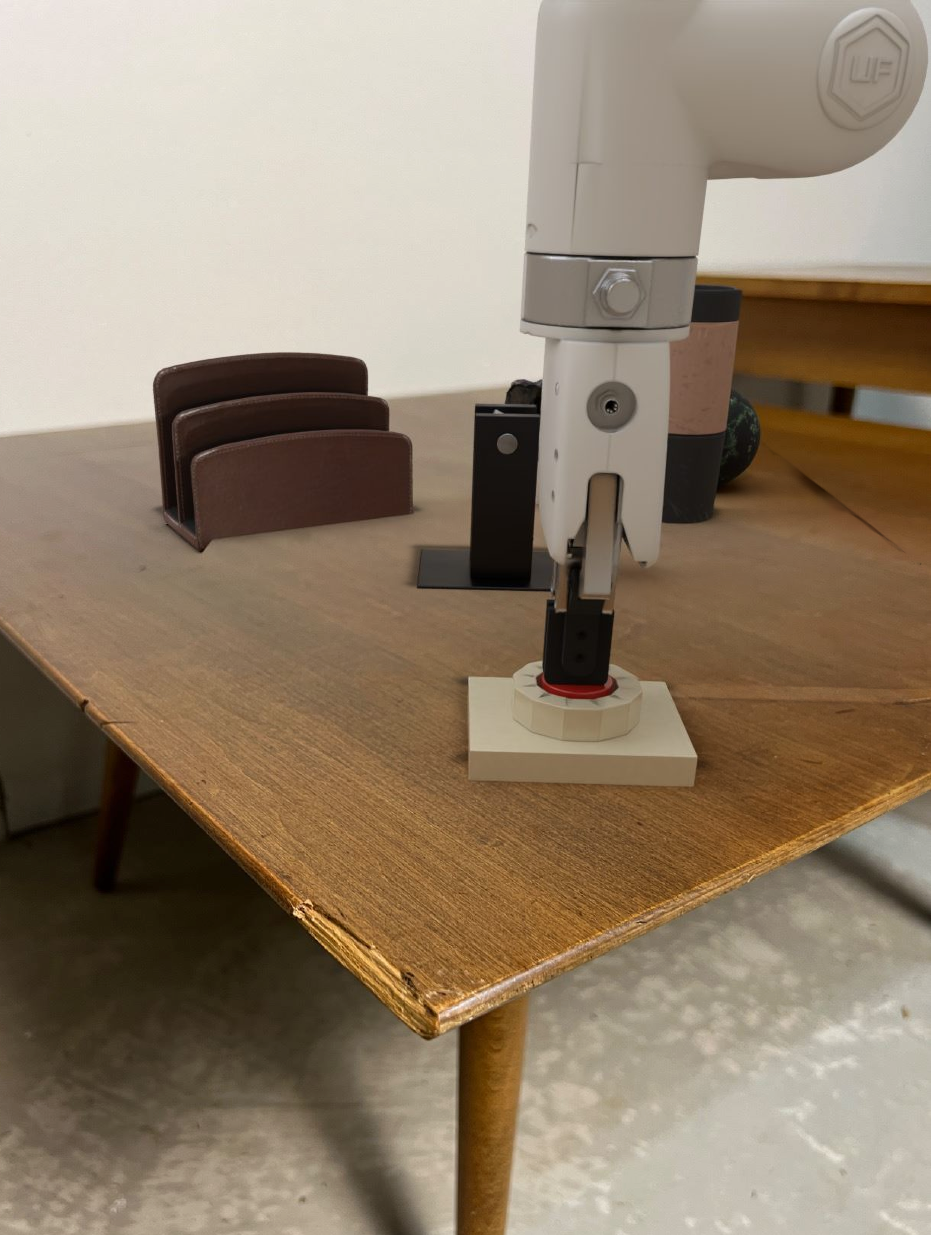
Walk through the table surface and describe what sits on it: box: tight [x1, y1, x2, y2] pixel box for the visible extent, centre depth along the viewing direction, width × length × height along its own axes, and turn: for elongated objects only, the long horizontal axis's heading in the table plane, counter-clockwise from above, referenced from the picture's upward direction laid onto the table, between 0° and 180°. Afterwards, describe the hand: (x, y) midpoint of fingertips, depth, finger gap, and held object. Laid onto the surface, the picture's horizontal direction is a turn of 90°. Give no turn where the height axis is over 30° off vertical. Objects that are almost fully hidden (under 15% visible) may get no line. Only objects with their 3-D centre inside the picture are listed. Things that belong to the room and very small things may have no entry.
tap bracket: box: [416, 403, 552, 593], centre depth 78 cm, size 12×9×13 cm
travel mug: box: [661, 283, 744, 525], centre depth 92 cm, size 8×8×20 cm
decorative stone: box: [717, 388, 762, 487], centre depth 108 cm, size 10×10×10 cm
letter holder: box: [152, 351, 415, 552], centre depth 91 cm, size 10×20×14 cm, turn 118°
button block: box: [466, 659, 699, 788], centre depth 56 cm, size 11×9×4 cm
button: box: [541, 674, 613, 699], centre depth 55 cm, size 4×4×2 cm
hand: (574, 678), depth 55 cm, fingers closed
